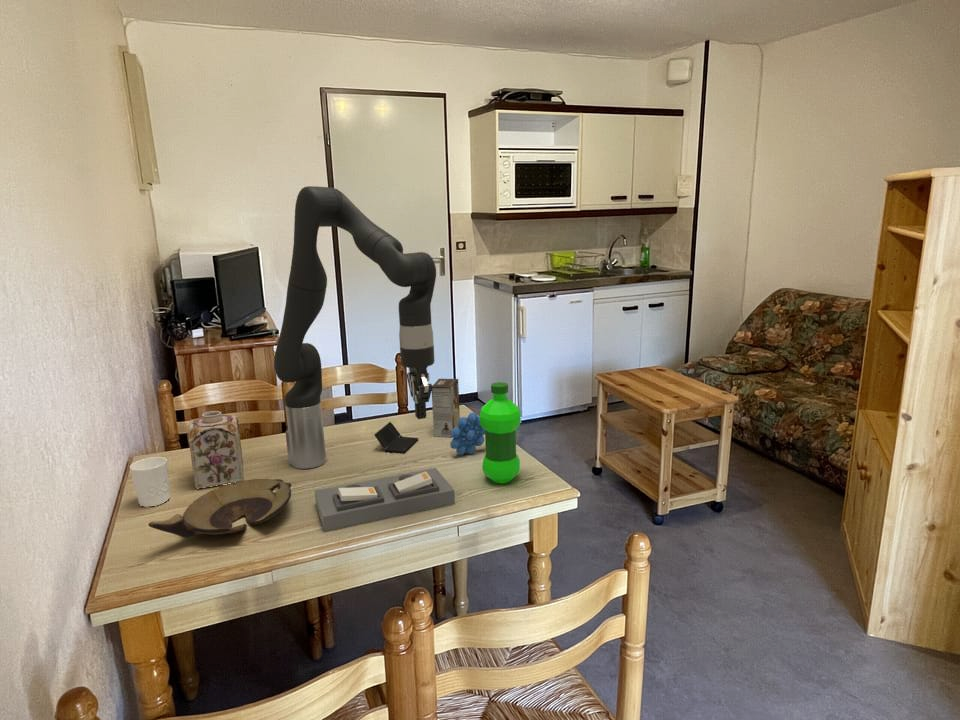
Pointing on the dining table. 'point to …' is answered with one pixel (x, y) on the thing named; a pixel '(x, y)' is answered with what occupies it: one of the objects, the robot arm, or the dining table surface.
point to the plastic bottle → (500, 435)
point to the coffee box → (445, 406)
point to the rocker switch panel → (382, 500)
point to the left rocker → (357, 493)
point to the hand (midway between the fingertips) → (420, 417)
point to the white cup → (151, 480)
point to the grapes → (467, 434)
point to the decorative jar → (215, 449)
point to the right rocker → (413, 482)
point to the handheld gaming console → (394, 440)
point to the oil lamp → (229, 508)
